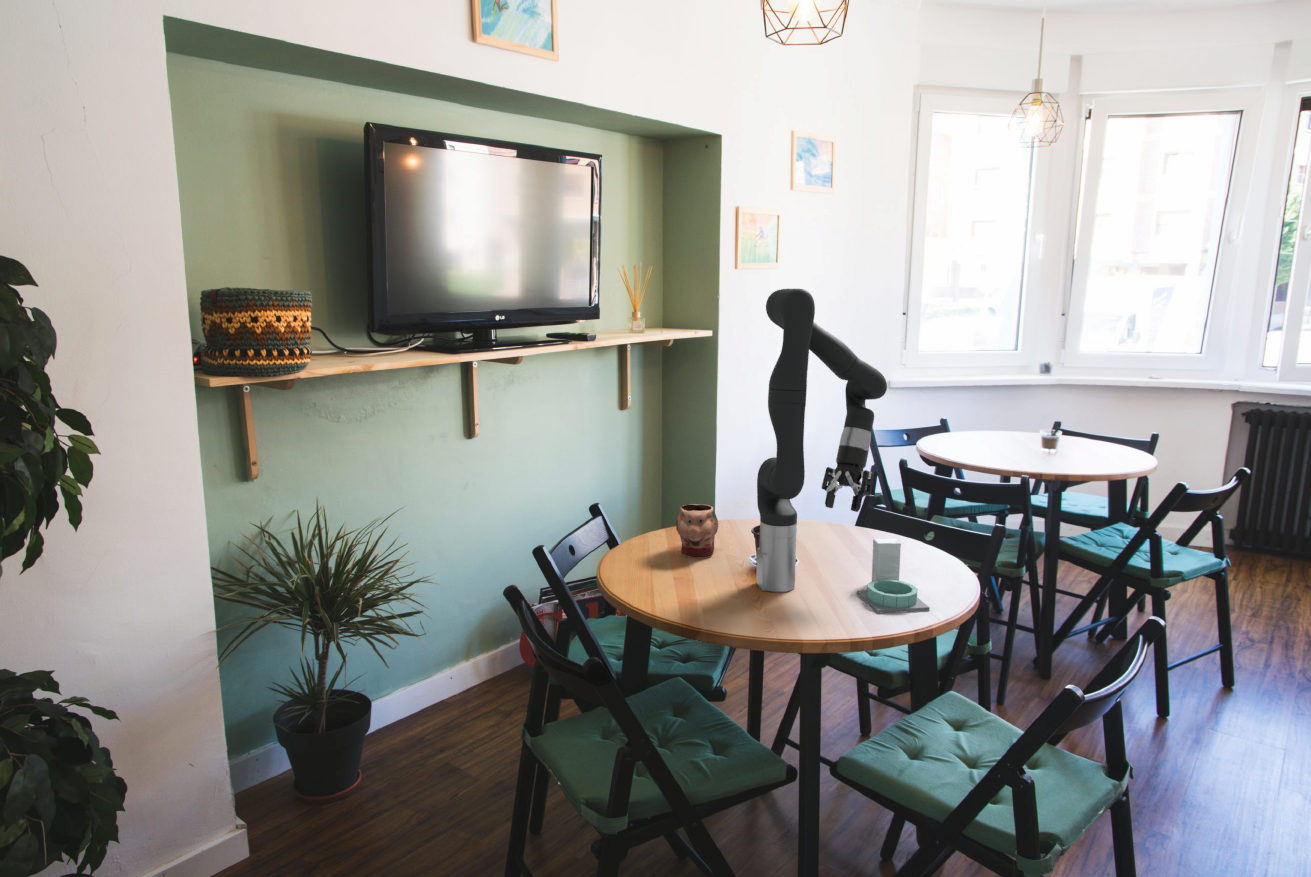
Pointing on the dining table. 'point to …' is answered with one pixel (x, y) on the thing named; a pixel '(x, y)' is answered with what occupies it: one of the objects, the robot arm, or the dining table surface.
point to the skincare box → (886, 559)
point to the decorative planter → (697, 530)
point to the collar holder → (892, 597)
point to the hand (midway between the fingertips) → (841, 509)
